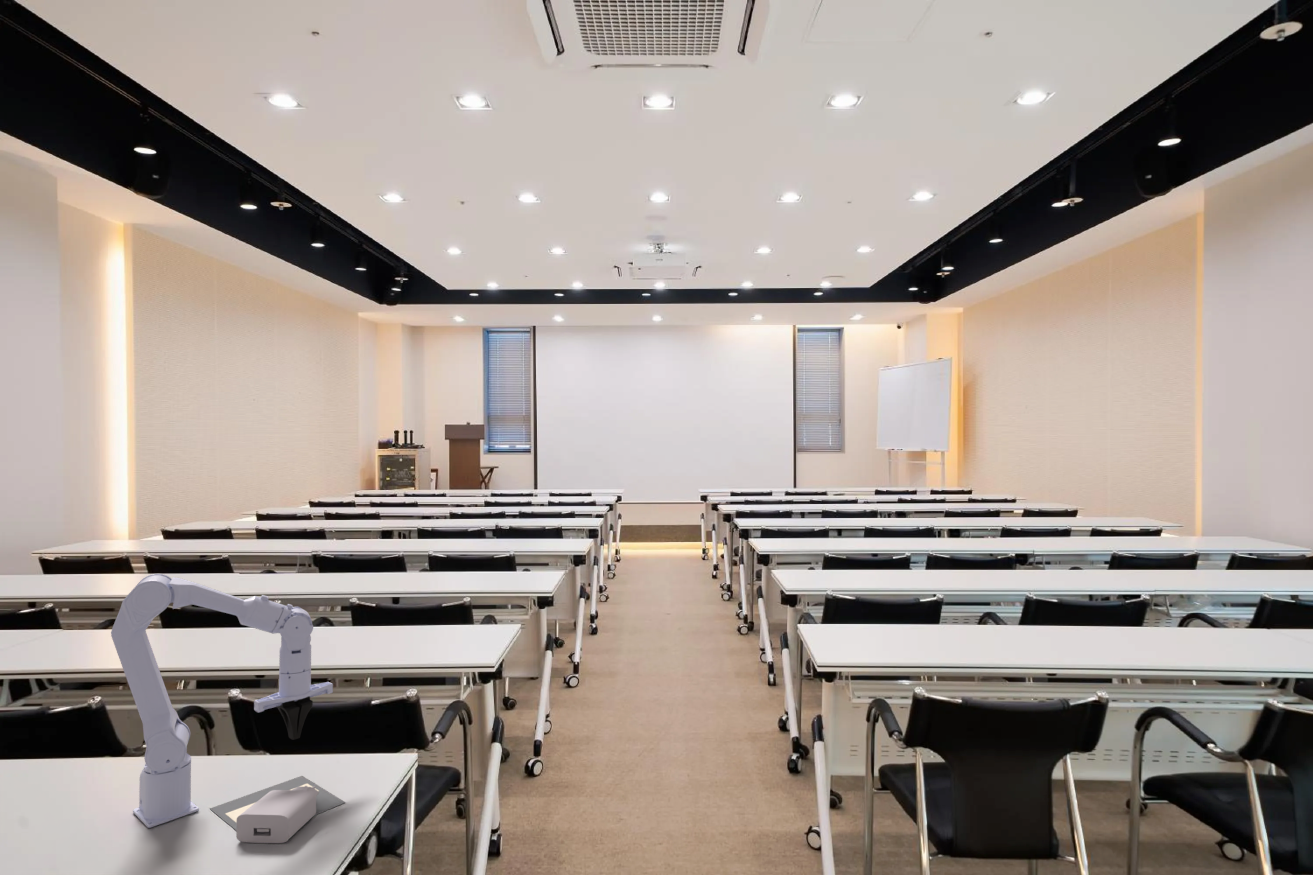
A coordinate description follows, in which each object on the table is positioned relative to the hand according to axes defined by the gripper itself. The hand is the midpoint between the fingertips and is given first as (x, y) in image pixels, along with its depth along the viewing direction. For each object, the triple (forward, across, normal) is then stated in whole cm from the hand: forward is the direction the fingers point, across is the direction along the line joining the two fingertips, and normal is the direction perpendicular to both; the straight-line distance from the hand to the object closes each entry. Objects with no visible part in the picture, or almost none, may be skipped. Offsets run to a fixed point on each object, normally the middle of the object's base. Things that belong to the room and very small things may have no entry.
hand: (294, 737), depth 140 cm
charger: (+10, +7, +13) cm, 18 cm away
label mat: (+10, +5, +6) cm, 13 cm away
